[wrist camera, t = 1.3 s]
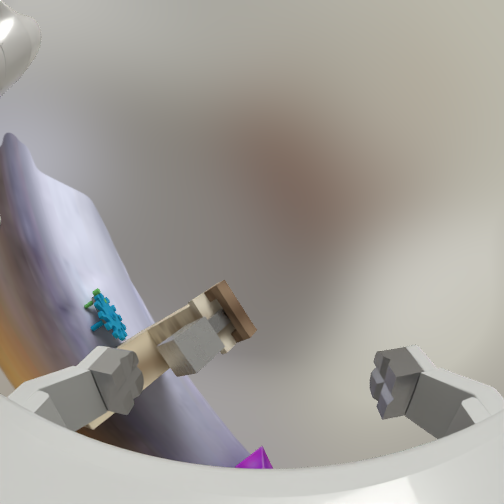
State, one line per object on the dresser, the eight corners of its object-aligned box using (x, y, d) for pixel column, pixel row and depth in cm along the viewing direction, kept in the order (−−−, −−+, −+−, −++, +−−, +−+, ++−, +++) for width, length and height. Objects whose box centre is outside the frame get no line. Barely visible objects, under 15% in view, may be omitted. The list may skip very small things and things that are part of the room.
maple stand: (48, 386, 32) (83, 372, 17) (137, 330, 53) (232, 274, 38) (75, 424, 32) (143, 448, 17) (158, 361, 53) (263, 322, 37)
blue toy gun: (135, 337, 50) (117, 337, 40) (113, 350, 48) (93, 352, 39) (110, 291, 52) (90, 282, 42) (90, 305, 50) (67, 298, 41)
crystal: (242, 556, 29) (299, 465, 52) (195, 541, 27) (266, 440, 50) (219, 544, 34) (274, 462, 57) (174, 526, 32) (241, 436, 55)
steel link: (176, 376, 27) (196, 373, 24) (155, 346, 27) (173, 339, 24) (239, 321, 37) (259, 312, 35) (223, 297, 37) (243, 286, 35)
